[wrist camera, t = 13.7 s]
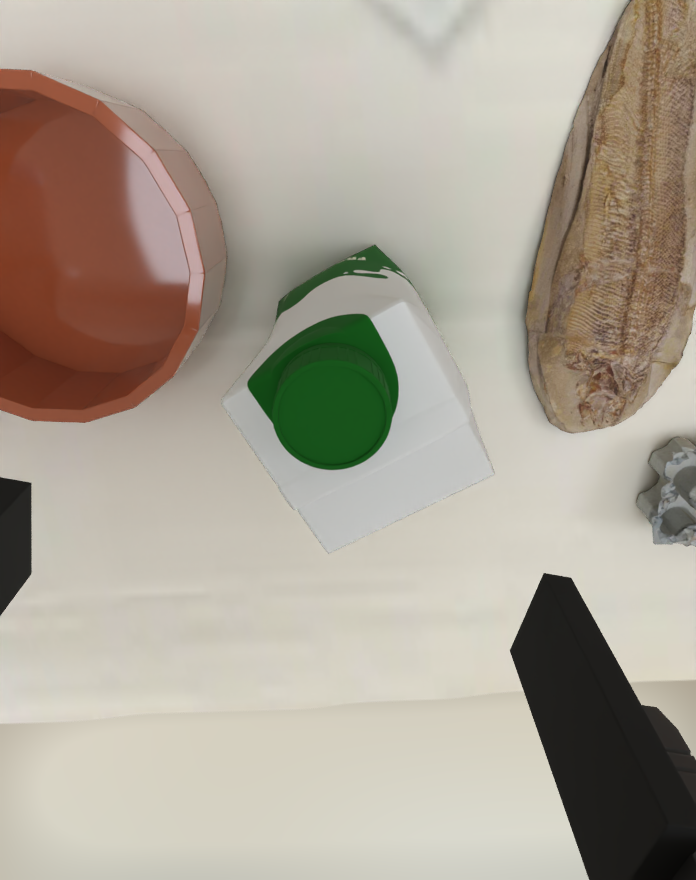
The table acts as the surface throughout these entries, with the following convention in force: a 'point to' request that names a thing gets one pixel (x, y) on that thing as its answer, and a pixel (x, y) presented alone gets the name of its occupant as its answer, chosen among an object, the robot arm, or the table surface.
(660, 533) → the egg carton
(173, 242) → the pot
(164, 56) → the table surface
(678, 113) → the fish fossil
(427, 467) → the milk carton
